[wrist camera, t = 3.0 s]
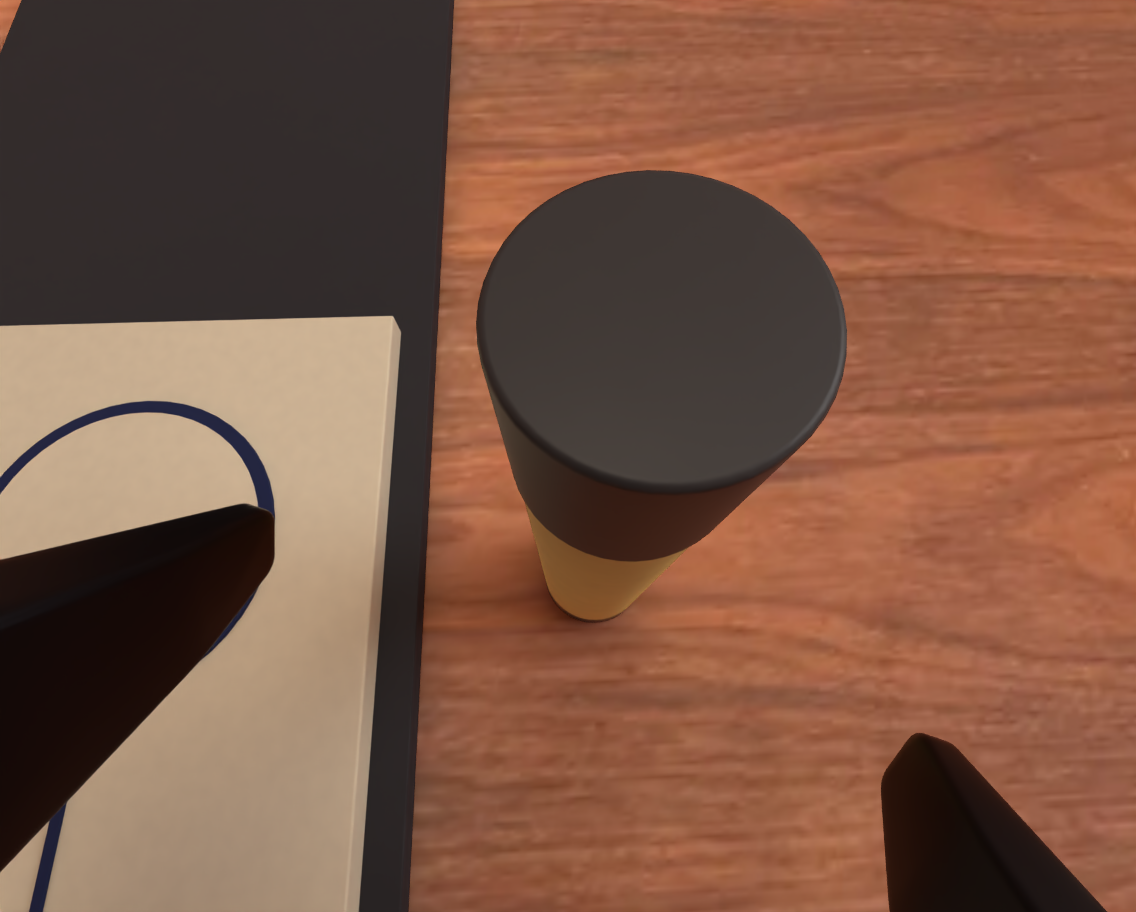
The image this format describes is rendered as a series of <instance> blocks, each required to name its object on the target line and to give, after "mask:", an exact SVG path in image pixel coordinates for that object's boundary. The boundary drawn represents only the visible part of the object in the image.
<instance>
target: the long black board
mask: <svg viewBox="0 0 1136 912" xmlns="http://www.w3.org/2000/svg"><path fill="white" fill-rule="evenodd" d="M453 9H454V0H22V1H21V3H20V6H19V8H18V11H17V13H16V15H15V18H14V20H13V23H12V25H11V28H10V30H9V33H8V35H7V38H6V40H5V43H4V45H3V48H2V50H1V53H0V560H1V559H5V558H10V557H14V556H18V555H22V554H27V553H31V552H35V551H40V550H44V549H48V548H52V547H57V546H61V545H65V544H70V543H74V542H78V541H82V540H87V539H91V538H95V537H100V536H104V535H108V534H112V533H117V532H121V531H125V530H129V529H134V528H138V527H142V526H147V525H151V524H155V523H159V522H164V521H168V520H172V519H177V518H181V517H185V516H189V515H194V514H198V513H202V512H207V511H211V510H215V509H219V508H224V507H228V506H232V505H236V504H241V503H246V504H251V505H254V506H257V507H260V508H263V509H266V510H268V511H270V512H271V513H272V514H273V516H274V520H275V558H274V563H273V566H272V568H271V570H270V572H269V573H268V575H267V576H266V578H265V579H264V580H263V581H262V583H261V584H260V585H259V587H258V588H257V589H256V590H255V592H254V593H253V594H252V596H251V597H250V598H249V599H248V601H247V602H246V603H245V605H244V606H243V607H242V608H241V610H240V611H239V612H238V614H237V615H236V616H235V617H234V619H233V620H232V621H231V623H230V624H229V625H228V626H227V628H226V629H225V630H224V632H223V633H222V634H221V635H220V637H219V638H218V639H217V641H216V642H215V643H214V644H213V646H212V647H211V648H210V649H209V651H208V652H207V653H206V654H205V655H204V657H203V658H202V659H201V660H200V661H199V663H198V664H197V665H196V666H195V667H194V668H193V669H192V670H191V671H190V672H189V674H188V675H187V676H186V677H185V678H184V679H183V680H182V681H181V682H180V683H179V684H178V685H177V686H176V687H175V688H174V690H173V691H172V692H171V693H170V694H169V695H168V696H167V697H166V698H165V699H164V700H163V701H162V702H161V703H160V704H159V705H158V706H157V707H156V709H155V710H154V711H153V712H152V713H151V714H150V715H149V716H148V717H147V718H146V719H145V720H144V721H143V722H142V723H141V724H140V725H139V726H138V728H137V729H136V730H135V731H134V732H133V733H132V734H131V735H130V736H129V737H128V738H127V739H126V740H125V741H124V742H123V743H122V744H121V746H120V747H119V748H118V749H117V750H116V751H115V752H114V753H113V754H112V755H111V756H110V757H109V758H108V759H107V760H106V761H105V762H104V763H103V765H102V766H101V767H100V768H99V769H98V770H97V771H96V772H95V773H94V774H93V775H92V776H91V777H90V778H89V779H88V780H87V781H86V782H85V784H84V785H83V786H82V787H81V788H80V789H79V790H78V791H77V792H76V793H75V794H74V795H73V796H72V797H71V798H70V799H69V800H68V802H67V803H66V804H65V805H64V806H63V807H62V808H61V809H60V810H59V811H58V812H57V813H56V814H55V815H54V816H53V817H52V818H51V819H50V821H49V822H48V823H47V824H46V825H45V826H44V827H43V828H42V829H41V830H40V831H39V832H38V833H37V834H36V835H35V836H34V837H33V838H32V840H31V841H30V842H29V843H28V844H27V845H26V846H25V847H24V848H23V849H22V850H21V851H20V852H19V853H18V854H17V855H16V856H15V858H14V859H13V860H12V861H11V862H10V863H9V864H8V865H7V866H6V867H5V868H4V869H3V870H2V871H1V872H0V912H408V907H409V887H410V867H411V847H412V827H413V807H414V787H415V767H416V747H417V727H418V707H419V688H420V668H421V648H422V628H423V608H424V588H425V568H426V548H427V528H428V508H429V488H430V468H431V448H432V428H433V408H434V388H435V368H436V348H437V328H438V308H439V288H440V268H441V248H442V229H443V209H444V189H445V169H446V149H447V129H448V109H449V89H450V69H451V49H452V29H453Z"/></svg>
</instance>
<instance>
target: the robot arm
mask: <svg viewBox="0 0 1136 912" xmlns="http://www.w3.org/2000/svg"><path fill="white" fill-rule="evenodd" d="M274 558H275V520H274V516H273V514H272V513H271V512H270V511H268V510H266V509H263V508H260V507H257V506H254V505H251V504H246V503H241V504H236V505H232V506H228V507H224V508H219V509H215V510H211V511H207V512H202V513H198V514H194V515H189V516H185V517H181V518H177V519H172V520H168V521H164V522H159V523H155V524H151V525H147V526H142V527H138V528H134V529H129V530H125V531H121V532H117V533H112V534H108V535H104V536H100V537H95V538H91V539H87V540H82V541H78V542H74V543H70V544H65V545H61V546H57V547H52V548H48V549H44V550H40V551H35V552H31V553H27V554H22V555H18V556H14V557H10V558H5V559H1V560H0V872H1V871H2V870H3V869H4V868H5V867H6V866H7V865H8V864H9V863H10V862H11V861H12V860H13V859H14V858H15V856H16V855H17V854H18V853H19V852H20V851H21V850H22V849H23V848H24V847H25V846H26V845H27V844H28V843H29V842H30V841H31V840H32V838H33V837H34V836H35V835H36V834H37V833H38V832H39V831H40V830H41V829H42V828H43V827H44V826H45V825H46V824H47V823H48V822H49V821H50V819H51V818H52V817H53V816H54V815H55V814H56V813H57V812H58V811H59V810H60V809H61V808H62V807H63V806H64V805H65V804H66V803H67V802H68V800H69V799H70V798H71V797H72V796H73V795H74V794H75V793H76V792H77V791H78V790H79V789H80V788H81V787H82V786H83V785H84V784H85V782H86V781H87V780H88V779H89V778H90V777H91V776H92V775H93V774H94V773H95V772H96V771H97V770H98V769H99V768H100V767H101V766H102V765H103V763H104V762H105V761H106V760H107V759H108V758H109V757H110V756H111V755H112V754H113V753H114V752H115V751H116V750H117V749H118V748H119V747H120V746H121V744H122V743H123V742H124V741H125V740H126V739H127V738H128V737H129V736H130V735H131V734H132V733H133V732H134V731H135V730H136V729H137V728H138V726H139V725H140V724H141V723H142V722H143V721H144V720H145V719H146V718H147V717H148V716H149V715H150V714H151V713H152V712H153V711H154V710H155V709H156V707H157V706H158V705H159V704H160V703H161V702H162V701H163V700H164V699H165V698H166V697H167V696H168V695H169V694H170V693H171V692H172V691H173V690H174V688H175V687H176V686H177V685H178V684H179V683H180V682H181V681H182V680H183V679H184V678H185V677H186V676H187V675H188V674H189V672H190V671H191V670H192V669H193V668H194V667H195V666H196V665H197V664H198V663H199V661H200V660H201V659H202V658H203V657H204V655H205V654H206V653H207V652H208V651H209V649H210V648H211V647H212V646H213V644H214V643H215V642H216V641H217V639H218V638H219V637H220V635H221V634H222V633H223V632H224V630H225V629H226V628H227V626H228V625H229V624H230V623H231V621H232V620H233V619H234V617H235V616H236V615H237V614H238V612H239V611H240V610H241V608H242V607H243V606H244V605H245V603H246V602H247V601H248V599H249V598H250V597H251V596H252V594H253V593H254V592H255V590H256V589H257V588H258V587H259V585H260V584H261V583H262V581H263V580H264V579H265V578H266V576H267V575H268V573H269V572H270V570H271V568H272V566H273V563H274ZM881 800H882V814H883V828H884V843H885V857H886V872H887V886H888V900H889V910H890V912H1107V911H1106V910H1105V909H1104V908H1103V907H1102V906H1101V905H1100V904H1099V902H1098V901H1097V900H1096V899H1095V898H1094V897H1093V896H1092V895H1091V894H1090V893H1089V892H1088V890H1087V889H1086V888H1085V887H1084V886H1083V885H1082V884H1081V883H1080V882H1079V881H1078V880H1077V878H1076V877H1075V876H1074V875H1073V874H1072V873H1071V872H1070V871H1069V870H1068V869H1067V868H1066V867H1065V865H1064V864H1063V863H1062V862H1061V861H1060V860H1059V859H1058V858H1057V857H1056V856H1055V855H1054V853H1053V852H1052V851H1051V850H1050V849H1049V848H1048V847H1047V846H1046V845H1045V844H1044V843H1043V841H1042V840H1041V839H1040V838H1039V837H1038V836H1037V835H1036V834H1035V833H1034V832H1033V831H1032V829H1031V828H1030V827H1029V826H1028V825H1027V824H1026V823H1025V822H1024V821H1023V820H1022V819H1021V817H1020V816H1019V815H1018V814H1017V813H1016V812H1015V811H1014V810H1013V809H1012V808H1011V807H1010V805H1009V804H1008V803H1007V802H1006V801H1005V800H1004V799H1003V798H1002V797H1001V796H1000V795H999V793H998V792H997V791H996V790H995V789H994V788H993V787H992V786H991V785H990V784H989V783H988V781H987V780H986V779H985V778H984V777H983V776H982V775H981V774H980V773H979V772H978V771H977V770H976V768H975V767H974V766H973V765H972V764H971V763H970V762H969V761H968V760H967V759H966V758H965V756H964V755H963V754H962V753H961V752H960V751H959V750H958V749H957V748H956V747H955V746H954V745H953V744H951V743H949V742H947V741H944V740H941V739H938V738H936V737H933V736H930V735H927V734H924V733H916V734H914V735H912V736H911V737H910V738H909V739H908V740H907V742H906V743H905V744H904V746H903V747H902V749H901V750H900V751H899V753H898V754H897V755H896V757H895V758H894V759H893V761H892V762H891V764H890V765H889V766H888V768H887V769H886V771H885V773H884V775H883V778H882V783H881Z"/></svg>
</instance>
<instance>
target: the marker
mask: <svg viewBox="0 0 1136 912" xmlns="http://www.w3.org/2000/svg"><path fill="white" fill-rule="evenodd" d="M476 329H477V345H478V350H479V355H480V360H481V365H482V369H483V372H484V375H485V379H486V382H487V386H488V389H489V393H490V396H491V400H492V403H493V407H494V410H495V413H496V417H497V420H498V424H499V427H500V431H501V434H502V438H503V441H504V445H505V448H506V451H507V455H508V458H509V462H510V465H511V469H512V472H513V476H514V479H515V481H516V484H517V487H518V490H519V492H520V494H521V496H522V498H523V499H524V501H525V504H526V508H527V512H528V516H529V519H530V523H531V527H532V531H533V534H534V538H535V542H536V546H537V549H538V553H539V557H540V561H541V564H542V568H543V572H544V576H545V579H546V583H547V587H548V590H549V593H550V595H551V597H552V599H553V600H554V602H555V603H556V605H557V606H558V607H559V608H560V609H561V610H562V611H563V612H565V613H566V614H567V615H569V616H570V617H573V618H575V619H577V620H580V621H584V622H603V621H607V620H610V619H612V618H614V617H616V616H618V615H619V614H621V613H622V612H623V611H624V610H625V609H627V608H628V607H629V606H630V605H631V604H632V603H633V602H634V601H635V600H636V599H637V598H638V597H639V596H640V595H641V594H642V593H643V592H644V591H645V590H646V589H647V588H648V587H649V586H650V585H651V584H652V583H653V582H654V581H655V580H656V579H657V578H658V577H659V576H660V575H661V574H662V573H663V572H664V571H665V570H666V569H667V568H668V567H669V566H670V565H671V564H672V563H673V562H674V561H675V560H676V559H677V558H678V557H679V556H680V555H681V554H682V553H683V552H684V551H685V550H686V549H687V548H688V547H690V546H692V545H693V544H695V543H697V542H698V541H700V540H701V539H702V538H704V537H705V536H706V535H708V534H709V533H710V532H711V531H712V530H713V529H714V528H715V527H716V526H717V525H718V524H719V523H720V522H722V521H723V520H724V519H725V518H726V517H727V516H728V515H729V514H730V513H731V512H732V511H733V510H734V509H735V508H736V507H737V506H739V505H740V504H741V503H742V502H743V501H744V500H745V499H746V498H747V497H748V496H749V495H750V494H751V493H752V492H753V491H754V490H756V489H757V488H758V487H759V486H760V485H761V484H762V483H763V482H764V481H765V480H766V479H767V478H768V477H769V476H770V475H771V474H772V473H774V472H775V471H776V470H777V469H778V468H779V467H780V466H781V465H782V464H783V463H784V462H785V461H786V460H787V459H788V458H789V457H791V456H792V455H793V454H794V453H795V452H796V451H797V450H798V449H799V448H800V447H801V446H802V445H803V444H804V443H805V442H806V441H807V440H808V439H809V438H810V437H811V436H812V435H813V433H814V432H815V431H816V429H817V428H818V427H819V425H820V424H821V422H822V421H823V420H824V418H825V417H826V415H827V413H828V411H829V409H830V407H831V406H832V404H833V402H834V400H835V398H836V395H837V392H838V389H839V386H840V383H841V380H842V377H843V372H844V366H845V360H846V348H847V328H846V321H845V313H844V308H843V304H842V301H841V297H840V294H839V290H838V288H837V285H836V283H835V281H834V279H833V276H832V274H831V272H830V270H829V268H828V266H827V265H826V263H825V262H824V260H823V258H822V257H821V255H820V254H819V252H818V251H817V249H816V248H815V247H814V246H813V244H812V243H811V242H810V241H809V239H808V238H807V237H806V236H805V235H804V234H803V233H802V232H801V231H800V230H799V229H798V228H797V227H796V226H795V225H794V224H793V223H792V222H791V221H790V220H789V219H788V218H786V217H785V216H784V215H782V214H781V213H780V212H778V211H777V210H776V209H775V208H773V207H772V206H770V205H769V204H767V203H765V202H764V201H762V200H760V199H759V198H757V197H755V196H754V195H752V194H750V193H748V192H745V191H743V190H741V189H739V188H737V187H735V186H732V185H729V184H726V183H724V182H721V181H718V180H715V179H712V178H707V177H703V176H699V175H695V174H689V173H682V172H674V171H654V170H646V171H633V172H624V173H618V174H613V175H607V176H603V177H600V178H596V179H593V180H590V181H586V182H583V183H581V184H579V185H576V186H574V187H572V188H569V189H567V190H565V191H563V192H561V193H559V194H558V195H556V196H554V197H552V198H551V199H549V200H547V201H546V202H544V203H543V204H542V205H540V206H539V207H538V208H536V209H535V210H534V211H532V212H531V213H530V214H529V215H528V216H527V217H526V218H525V219H524V220H523V221H521V222H520V223H519V224H518V225H517V226H516V227H515V229H514V230H513V231H512V232H511V234H510V235H509V236H508V237H507V239H506V240H505V241H504V242H503V244H502V246H501V247H500V249H499V251H498V252H497V254H496V256H495V257H494V259H493V261H492V263H491V265H490V268H489V270H488V272H487V275H486V277H485V280H484V282H483V286H482V290H481V293H480V297H479V301H478V310H477V320H476Z"/></svg>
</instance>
